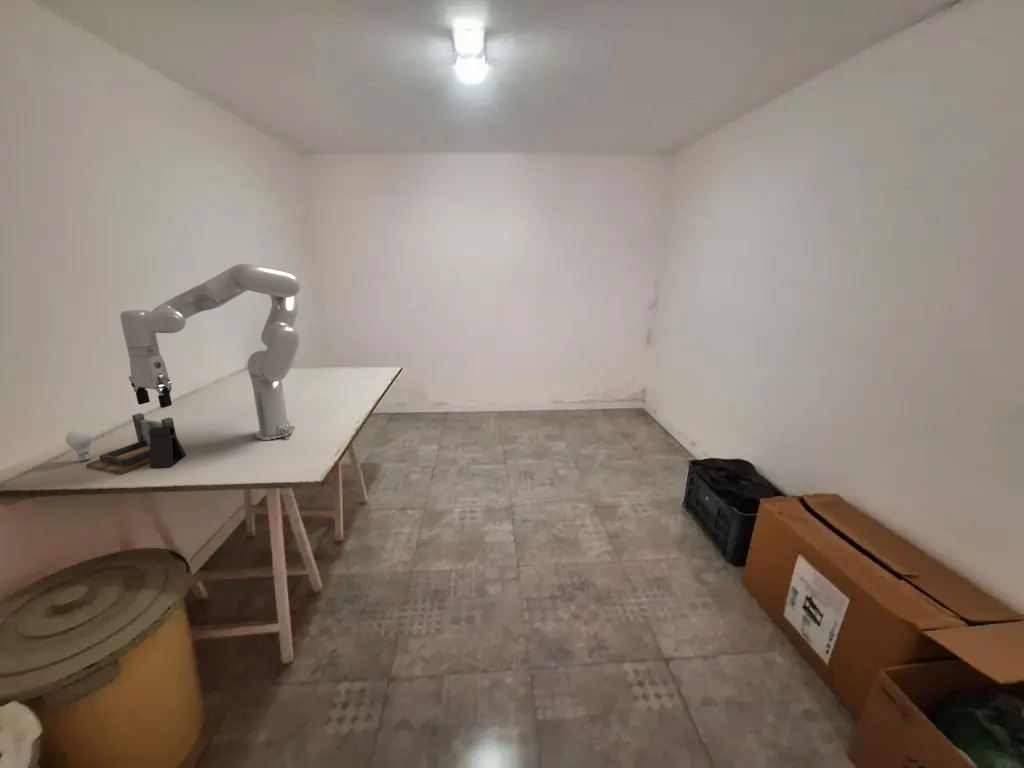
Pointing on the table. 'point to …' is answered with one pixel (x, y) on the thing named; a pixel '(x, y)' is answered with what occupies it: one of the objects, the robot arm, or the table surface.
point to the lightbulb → (80, 442)
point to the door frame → (131, 448)
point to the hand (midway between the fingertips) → (155, 404)
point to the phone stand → (164, 448)
